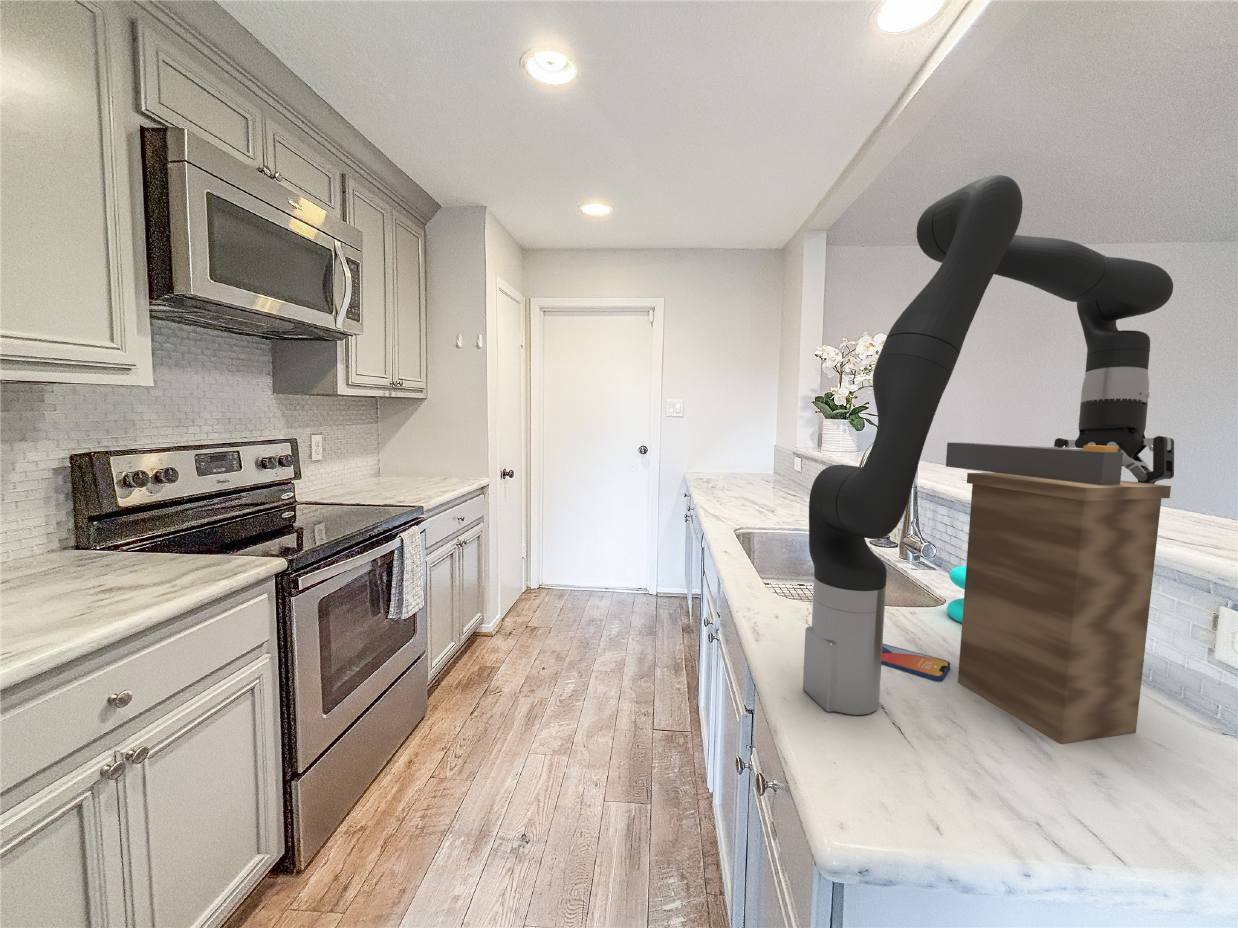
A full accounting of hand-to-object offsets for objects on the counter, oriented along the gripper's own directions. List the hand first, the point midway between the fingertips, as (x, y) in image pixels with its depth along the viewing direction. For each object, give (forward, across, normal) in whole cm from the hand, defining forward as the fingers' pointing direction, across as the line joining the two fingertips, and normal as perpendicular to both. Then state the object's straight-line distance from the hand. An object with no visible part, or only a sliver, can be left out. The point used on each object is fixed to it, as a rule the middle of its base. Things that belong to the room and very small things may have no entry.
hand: (1104, 504), depth 79 cm
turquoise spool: (+25, -22, +6) cm, 34 cm away
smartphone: (+29, -15, -22) cm, 40 cm away
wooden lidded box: (+29, +2, -15) cm, 33 cm away
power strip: (-3, -1, -18) cm, 18 cm away
